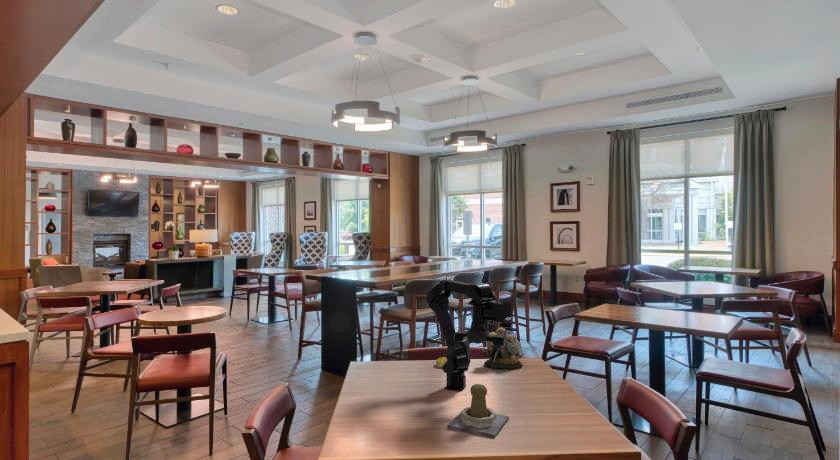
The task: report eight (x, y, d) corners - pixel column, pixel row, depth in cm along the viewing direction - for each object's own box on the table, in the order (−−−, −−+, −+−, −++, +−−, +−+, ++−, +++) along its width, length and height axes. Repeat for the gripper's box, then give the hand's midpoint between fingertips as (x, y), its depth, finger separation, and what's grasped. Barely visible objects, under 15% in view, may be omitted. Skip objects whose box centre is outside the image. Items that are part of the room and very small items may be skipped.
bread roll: (441, 362, 216) (441, 354, 216) (458, 365, 211) (458, 356, 211) (432, 367, 209) (432, 358, 209) (449, 370, 204) (449, 361, 204)
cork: (481, 425, 144) (481, 389, 144) (465, 420, 148) (465, 385, 148) (492, 420, 148) (492, 385, 148) (476, 414, 152) (476, 380, 152)
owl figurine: (484, 370, 204) (484, 330, 204) (479, 363, 215) (479, 325, 215) (526, 369, 205) (525, 330, 205) (518, 362, 216) (518, 324, 216)
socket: (447, 428, 144) (447, 417, 144) (464, 411, 158) (464, 400, 158) (495, 438, 138) (495, 426, 138) (508, 419, 151) (508, 408, 151)
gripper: (447, 320, 167) (447, 364, 167) (499, 324, 159) (499, 371, 159) (459, 315, 177) (459, 356, 177) (508, 319, 169) (508, 362, 169)
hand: (480, 361), depth 170 cm, fingers open, 9 cm apart
